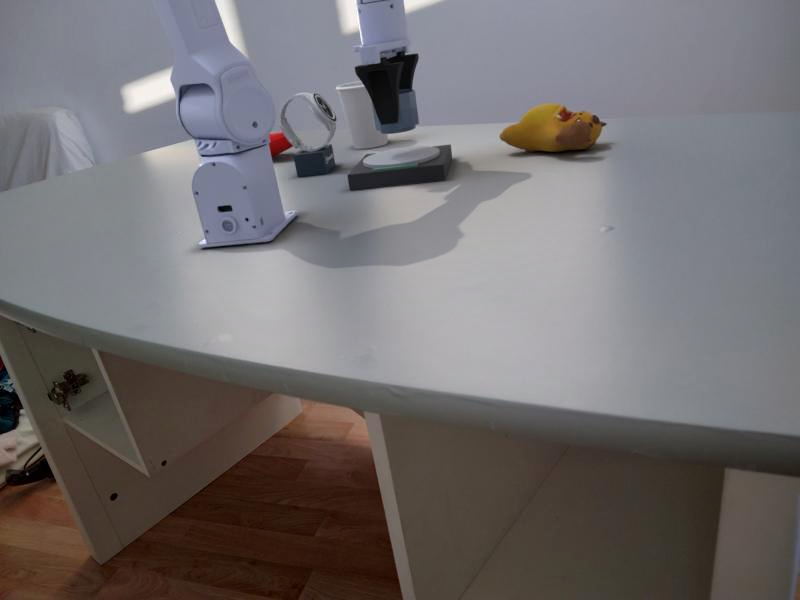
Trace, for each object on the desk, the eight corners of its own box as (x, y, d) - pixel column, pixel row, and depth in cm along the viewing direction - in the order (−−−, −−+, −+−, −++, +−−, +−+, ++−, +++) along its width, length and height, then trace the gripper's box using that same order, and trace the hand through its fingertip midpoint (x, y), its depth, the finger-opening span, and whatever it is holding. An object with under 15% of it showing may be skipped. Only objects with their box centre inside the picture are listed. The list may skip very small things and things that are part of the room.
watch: (339, 172, 91) (325, 92, 87) (286, 178, 93) (269, 99, 88) (348, 163, 96) (334, 87, 92) (297, 169, 98) (281, 94, 93)
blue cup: (427, 124, 83) (422, 87, 81) (405, 134, 79) (400, 95, 77) (391, 126, 86) (385, 90, 84) (368, 135, 82) (362, 98, 80)
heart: (241, 167, 114) (228, 174, 105) (232, 144, 113) (218, 148, 104) (304, 146, 114) (297, 151, 104) (296, 123, 112) (287, 125, 103)
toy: (553, 110, 92) (638, 112, 79) (544, 156, 93) (627, 164, 81) (493, 96, 86) (574, 95, 74) (484, 145, 87) (563, 152, 75)
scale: (445, 180, 78) (443, 160, 77) (349, 190, 80) (346, 170, 79) (452, 158, 89) (450, 140, 88) (368, 168, 91) (365, 150, 90)
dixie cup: (367, 139, 113) (358, 80, 109) (405, 139, 108) (397, 77, 104) (336, 150, 107) (325, 88, 103) (374, 150, 102) (364, 85, 98)
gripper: (366, 5, 84) (382, 112, 89) (326, 9, 71) (348, 133, 77) (418, -3, 82) (431, 107, 87) (387, -1, 69) (405, 127, 74)
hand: (396, 118), depth 82 cm, fingers closed on blue cup, 6 cm apart
